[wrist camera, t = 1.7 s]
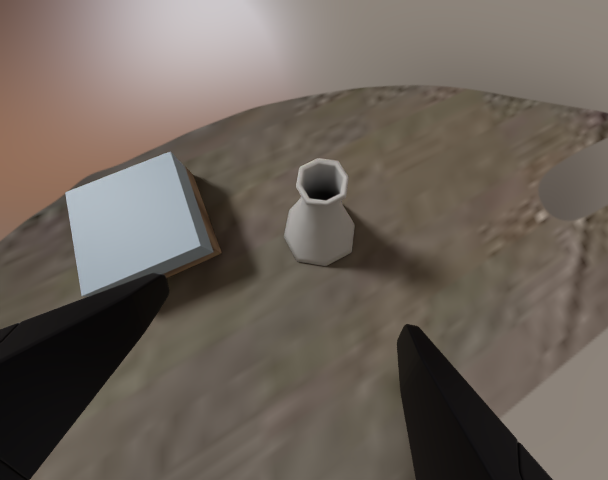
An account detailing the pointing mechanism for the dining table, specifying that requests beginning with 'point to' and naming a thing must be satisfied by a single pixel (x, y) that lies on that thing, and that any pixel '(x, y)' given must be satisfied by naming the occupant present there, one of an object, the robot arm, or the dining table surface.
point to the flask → (320, 215)
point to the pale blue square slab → (135, 224)
